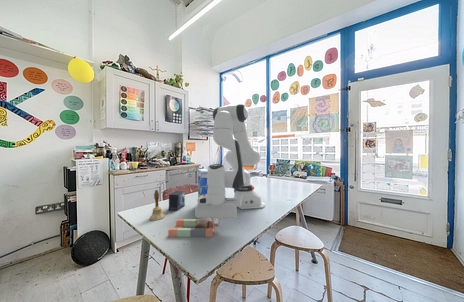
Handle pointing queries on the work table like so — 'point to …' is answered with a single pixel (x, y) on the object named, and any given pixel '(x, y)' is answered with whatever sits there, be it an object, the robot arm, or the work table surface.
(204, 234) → the multicolored rectangular frame
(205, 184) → the string lights box
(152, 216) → the hand bell
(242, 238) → the work table surface
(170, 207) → the small box
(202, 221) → the walnut block
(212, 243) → the work table surface
